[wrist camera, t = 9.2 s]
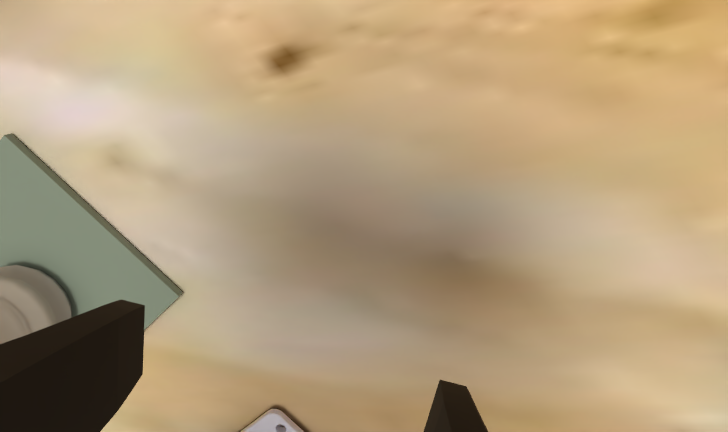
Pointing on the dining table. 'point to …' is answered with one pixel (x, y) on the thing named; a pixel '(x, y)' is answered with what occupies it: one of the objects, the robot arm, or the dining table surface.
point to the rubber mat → (71, 239)
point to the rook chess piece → (29, 302)
